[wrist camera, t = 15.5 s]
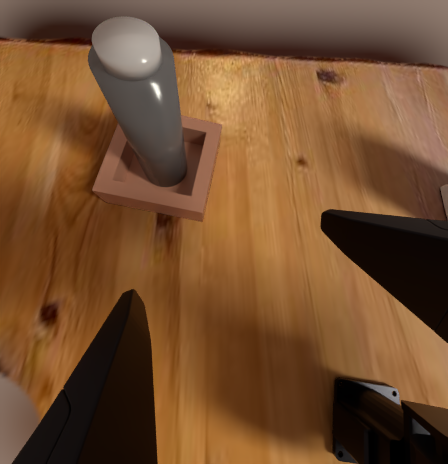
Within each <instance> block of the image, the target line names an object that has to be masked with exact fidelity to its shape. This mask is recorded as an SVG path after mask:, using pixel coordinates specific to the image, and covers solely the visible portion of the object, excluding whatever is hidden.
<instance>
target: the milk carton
mask: <svg viewBox="0 0 448 464" xmlns="http://www.w3.org/2000/svg"><path fill="white" fill-rule="evenodd" d="M440 189H441V194H442V198H443V203H444V207H445V211H446V215H447V220H448V184H446V185H444V186H441V187H440Z"/></svg>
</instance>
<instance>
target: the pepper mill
mask: <svg viewBox="0 0 448 464" xmlns="http://www.w3.org/2000/svg"><path fill="white" fill-rule="evenodd" d="M92 43H93V45H92V47H91V49H90V51H89V55H88V63H89V67H90V69H91V71H92V73H93V75H94V77H95V79H96V81H97V83H98V85H99V87H100V89H101V91H102V92H103V94H104V96H105V98H106V100H107V102H108V104H109V106H110V108H111V110H112V112H113V114H114V116H115V118H116V120H117V121H118V123H119V125H120V127H121V129H122V131H123V133H124V135H125V137H126V139H127V141H128V143H129V145H130V147H131V149H132V150H133V152H134V154H135V156H136V158H137V160H138V162H139V164H140V166H141V168H142V170H143V172H144V174H145V176H146V177H147V179H148V180H149V181H150V182H151V183H152V184H154V185H156V186H159V187H172V186H175V185H177V184H179V183H180V182H181V181H182V180H183V179H184V178H185V176H186V174H187V169H188V167H187V159H186V151H185V143H184V135H183V128H182V120H181V112H180V104H179V96H178V88H177V80H176V72H175V64H174V56H173V53H172V51H171V49H170V47H169V46H168V44H167V43H166V42H165V41H163V40H162V39H161V38H160V37H158V34H157V32H156V31H155V29H154V28H153V27H152V26H151V25H150V24H148V23H146V22H144V21H143V20H140V19H137V18H133V17H116V18H111V19H108V20H106V21H104V22H103V23H101V24H100V25H98V26H97V28H96V29H95V31H94V32H93V35H92Z"/></svg>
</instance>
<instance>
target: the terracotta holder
mask: <svg viewBox="0 0 448 464" xmlns="http://www.w3.org/2000/svg"><path fill="white" fill-rule="evenodd" d="M181 120H182V128H183V135H184V143H185V151H186V159H187V167H188V169H187V174H186V176H185V178H184V179H183V180H182V181H181V182H180V183H179V184H177V185H175V186H172V187H159V186H156V185H154V184H152V183H151V182H150V181H149V180H148V179H147V177H146V176H145V174H144V172H143V170H142V168H141V166H140V164H139V162H138V160H137V158H136V156H135V154H134V152H133V150H132V149H131V147H130V145H129V143H128V141H127V139H126V137H125V135H124V133H123V131H122V129H121V127H120V125H119V123H118V125H117V127H116V130H115V132H114V135H113V137H112V140H111V142H110V145H109V148H108V150H107V153H106V155H105V158H104V160H103V163H102V166H101V168H100V171H99V173H98V176H97V178H96V181H95V183H94V186H93V189H92V191H93V192H94V193H96V194H97V195H98V196H99V197H100V198H101V199H103V200H104V201H105V202H107V203H112V204H117V205H122V206H127V207H131V208H136V209H141V210H146V211H151V212H156V213H161V214H166V215H171V216H176V217H181V218H186V219H191V220H196V221H201V222H203V218H204V213H205V208H206V204H207V199H208V195H209V190H210V186H211V181H212V176H213V172H214V167H215V163H216V158H217V154H218V149H219V144H220V138H221V130H222V124H217V123H213V122H208V121H204V120H200V119H195V118H191V117H186V116H182V115H181Z"/></svg>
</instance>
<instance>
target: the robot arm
mask: <svg viewBox="0 0 448 464" xmlns="http://www.w3.org/2000/svg"><path fill="white" fill-rule="evenodd" d="M321 230H322V231H323V232H324V233H325V235H326V236H327V237H328V238H329V239H330V240H331V241H332V242H333V243H334V244H335V245H336V246H337V247H338V248H339V249H340V250H341V251H342V252H343V253H344V254H345V255H346V256H347V257H348V258H350V259H351V260H352V261H353V262H354V263H355V264H356V265H358V266H359V267H360V268H361V269H362V270H363V271H365V272H366V273H367V274H368V275H369V276H370V277H372V278H373V279H374V280H375V281H376V282H377V283H379V284H380V285H381V286H382V287H383V288H384V289H386V290H387V291H388V292H389V293H390V294H391V295H392V296H394V297H395V298H396V299H397V300H398V301H399V302H401V303H402V304H403V305H404V306H405V307H406V308H408V309H409V310H410V311H411V312H412V313H413V314H415V315H416V316H417V317H418V318H419V319H420V320H422V321H423V322H424V323H425V324H426V325H427V326H428V327H430V328H431V329H432V330H433V331H434V332H435V333H436V334H438V335H439V336H440V337H441V338H442V339H443V340H444V341H446V342H447V343H448V221H440V220H431V219H421V218H411V217H401V216H392V215H382V214H372V213H363V212H353V211H343V210H334V209H329V210H327V211H324V212H323V213H322V214H321ZM340 382H342V385H341V386H340V385H339V384H340ZM63 388H64V389H62V390H61V391H60V393H59V394H58V396H57V397H56V399H55V401H54V402H53V404H52V405H51V407H50V408H49V410H48V411H47V413H46V414H45V416H44V417H43V419H42V420H41V422H40V424H39V425H38V427H37V428H36V430H35V431H34V432H33V434H32V435H31V437H30V438H29V440H28V441H27V442H26V444H25V445H24V447H23V448H22V450H21V451H20V452H19V454H18V455H17V457H16V458H15V460H14V461H13V463H12V464H158V462H157V443H156V424H155V405H154V386H153V367H152V348H151V339H150V333H149V327H148V321H147V316H146V310H145V305H144V303H143V301H142V299H141V298H140V296H139V295H138V293H137V292H136V290H134V289H131V290H129V291H126V292H124V293H123V294H122V295H121V297H120V299H119V300H118V302H117V303H116V305H115V306H114V308H113V310H112V311H111V313H110V314H109V316H108V317H107V319H106V321H105V322H104V324H103V325H102V327H101V328H100V330H99V332H98V333H97V335H96V336H95V338H94V339H93V341H92V343H91V344H90V346H89V347H88V349H87V350H86V352H85V354H84V355H83V357H82V358H81V360H80V361H79V363H78V365H77V366H76V368H75V369H74V371H73V372H72V374H71V376H70V377H69V379H68V380H67V382H66V383H65V385H64V387H63ZM392 391H393V394H392ZM332 433H333V454H334V456H335V457H336V458H337V459H338V460H339V461H343V462H350V463H357V464H448V409H445V408H440V407H435V406H430V405H425V404H420V403H414V402H409V401H404V400H401V406H400V403H399V392H398V390H397V389H396V388H394V387H392V386H388V385H382V384H376V383H370V382H364V381H358V380H352V379H346V378H340V377H338V378H336V379H335V385H334V403H333V430H332ZM339 451H340V454H338V452H339Z"/></svg>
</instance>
